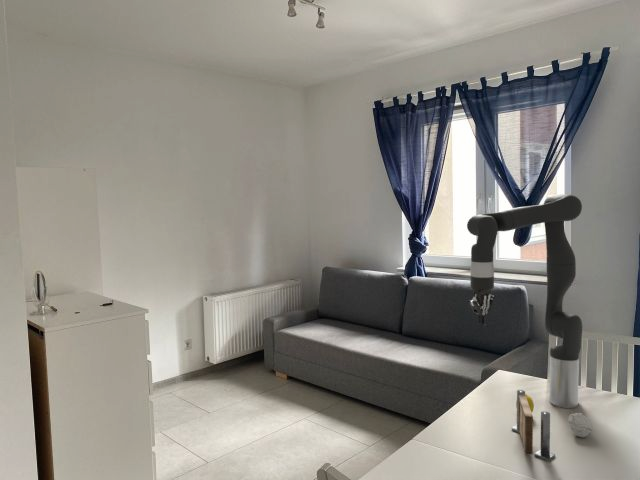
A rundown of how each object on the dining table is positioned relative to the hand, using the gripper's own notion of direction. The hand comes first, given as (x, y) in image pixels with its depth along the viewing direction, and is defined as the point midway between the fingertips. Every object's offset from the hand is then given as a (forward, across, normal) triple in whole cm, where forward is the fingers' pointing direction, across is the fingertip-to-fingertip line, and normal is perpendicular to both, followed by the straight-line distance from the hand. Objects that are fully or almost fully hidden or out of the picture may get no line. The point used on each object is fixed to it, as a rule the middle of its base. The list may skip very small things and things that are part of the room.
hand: (482, 325), depth 162 cm
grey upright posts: (+32, -5, -20) cm, 38 cm away
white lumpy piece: (+32, +10, -28) cm, 44 cm away
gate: (+31, -8, -20) cm, 37 cm away
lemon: (+32, +10, -10) cm, 35 cm away
